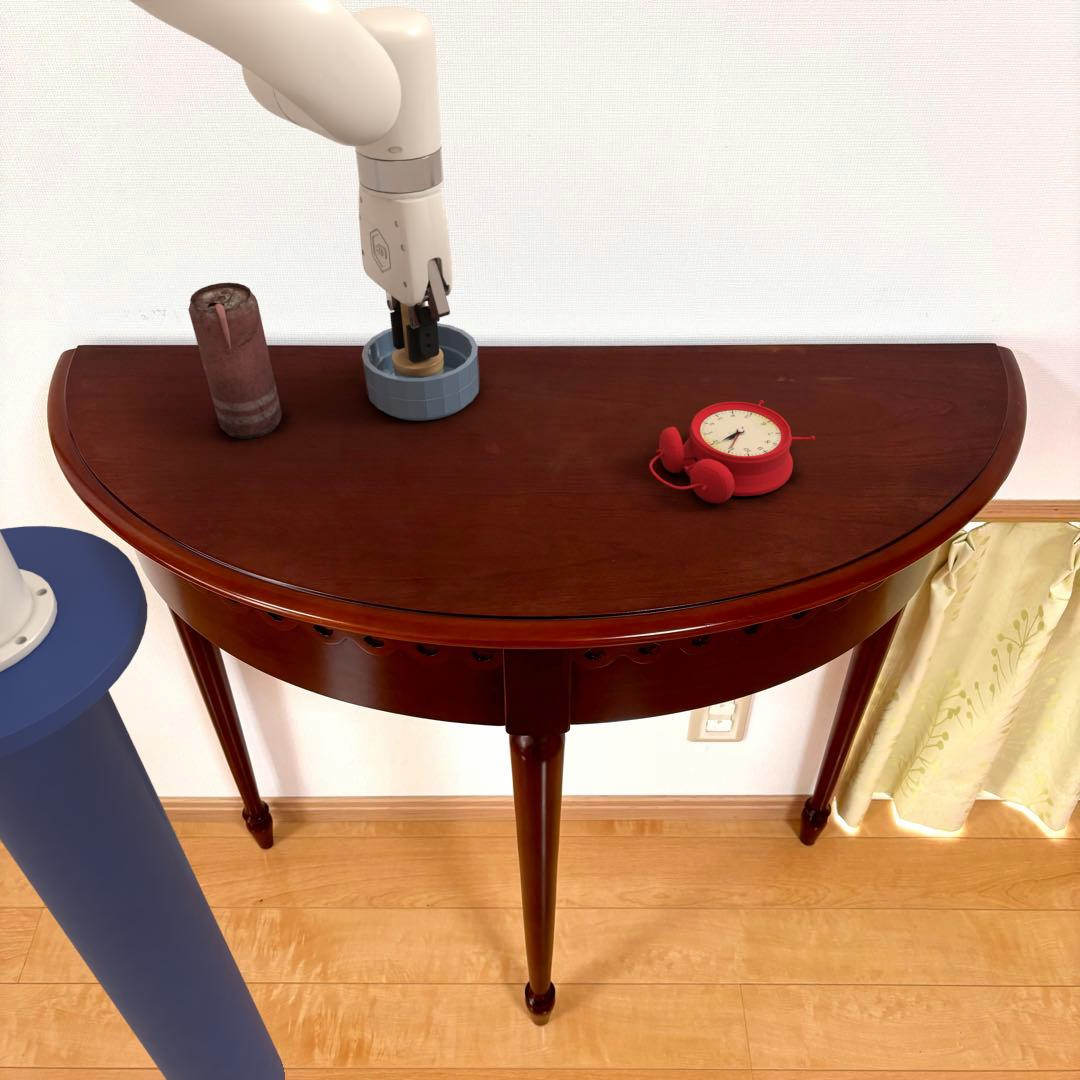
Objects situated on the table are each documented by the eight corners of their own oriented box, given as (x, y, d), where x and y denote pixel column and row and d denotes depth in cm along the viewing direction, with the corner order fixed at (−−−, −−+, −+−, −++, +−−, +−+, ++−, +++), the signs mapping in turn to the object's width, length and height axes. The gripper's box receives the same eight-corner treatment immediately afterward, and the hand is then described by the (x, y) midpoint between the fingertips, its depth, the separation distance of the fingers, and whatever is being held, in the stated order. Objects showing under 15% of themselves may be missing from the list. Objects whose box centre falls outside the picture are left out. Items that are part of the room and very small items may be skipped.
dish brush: (409, 395, 96) (402, 318, 91) (385, 373, 99) (376, 297, 94) (454, 379, 98) (449, 304, 93) (428, 358, 102) (422, 284, 96)
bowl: (402, 437, 94) (397, 393, 91) (349, 385, 102) (342, 343, 98) (500, 399, 99) (499, 357, 96) (443, 352, 106) (440, 311, 103)
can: (227, 448, 93) (192, 317, 84) (215, 414, 97) (181, 287, 88) (289, 433, 95) (261, 304, 86) (275, 401, 99) (247, 274, 90)
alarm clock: (831, 438, 87) (711, 460, 79) (808, 495, 91) (691, 522, 83) (754, 386, 94) (636, 401, 86) (735, 442, 98) (620, 461, 90)
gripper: (322, 150, 88) (347, 330, 100) (407, 206, 78) (424, 398, 90) (394, 134, 92) (409, 311, 104) (485, 186, 82) (491, 375, 94)
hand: (416, 350), depth 97 cm, fingers closed on dish brush, 2 cm apart
